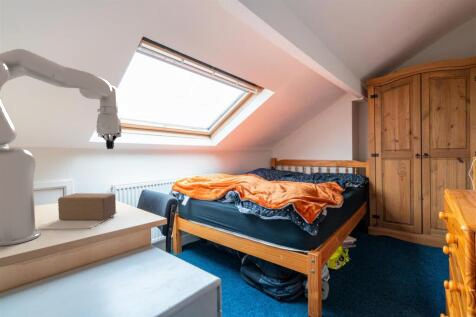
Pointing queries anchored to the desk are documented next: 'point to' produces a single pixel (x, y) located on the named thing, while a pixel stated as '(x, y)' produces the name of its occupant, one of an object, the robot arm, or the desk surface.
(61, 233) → the desk surface
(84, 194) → the block
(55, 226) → the mat
